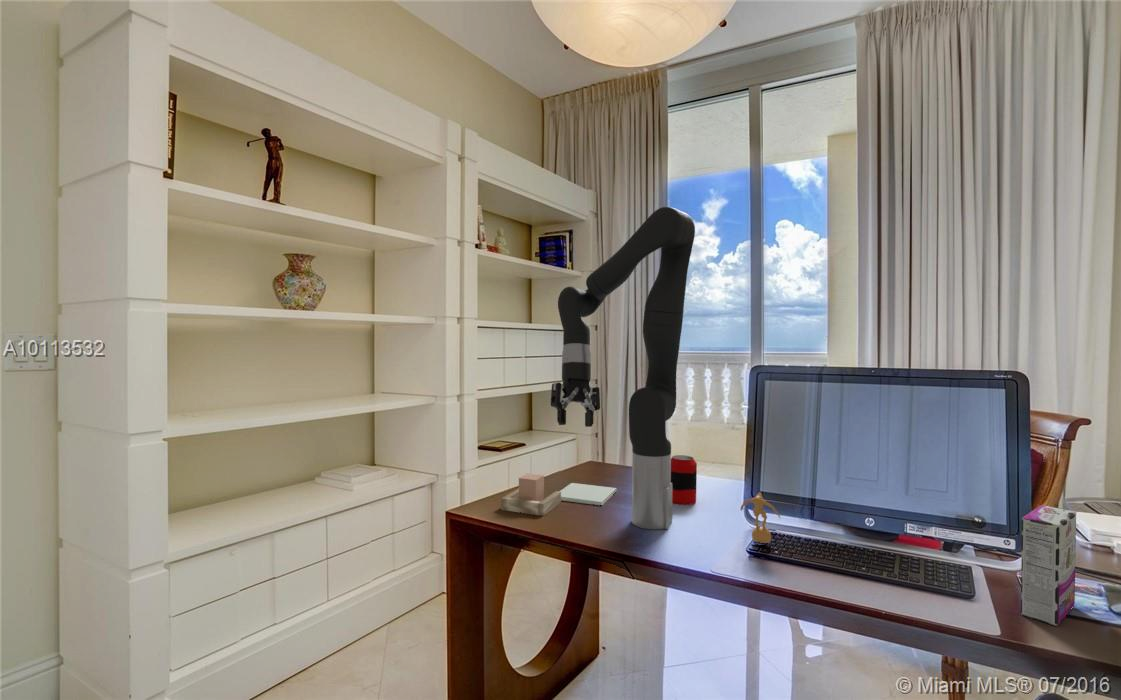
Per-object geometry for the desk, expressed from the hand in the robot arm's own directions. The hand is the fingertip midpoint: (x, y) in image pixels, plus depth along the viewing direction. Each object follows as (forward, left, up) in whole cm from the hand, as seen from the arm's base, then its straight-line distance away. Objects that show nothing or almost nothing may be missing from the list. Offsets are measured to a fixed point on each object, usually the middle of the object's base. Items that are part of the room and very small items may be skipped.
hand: (575, 425), depth 136 cm
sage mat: (+3, -15, -22) cm, 27 cm away
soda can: (-23, -21, -23) cm, 39 cm away
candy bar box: (-90, +15, -23) cm, 94 cm away
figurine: (-44, +5, -23) cm, 50 cm away
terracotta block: (+13, 0, -22) cm, 26 cm away
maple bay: (+13, 0, -22) cm, 26 cm away
